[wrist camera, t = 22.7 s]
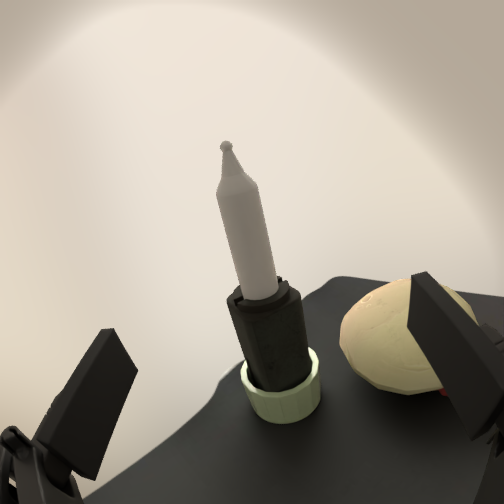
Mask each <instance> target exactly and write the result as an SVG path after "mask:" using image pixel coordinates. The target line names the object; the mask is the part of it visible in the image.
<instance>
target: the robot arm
mask: <svg viewBox="0 0 504 504" xmlns="http://www.w3.org/2000/svg"><path fill="white" fill-rule="evenodd" d="M407 328H408V330H409V331H410V333H411V334H412V336H413V338H414V339H415V341H416V342H417V344H418V345H419V347H420V349H421V350H422V352H423V354H424V355H425V357H426V358H427V360H428V362H429V363H430V365H431V367H432V368H433V370H434V372H435V374H436V375H437V377H438V379H439V381H440V382H441V384H442V386H443V388H444V389H445V391H446V393H447V395H448V397H449V398H450V400H451V402H452V404H453V406H454V408H455V410H456V412H457V414H458V415H459V417H460V419H461V421H462V423H463V425H464V427H465V429H466V431H467V433H468V436H469V438H470V440H471V441H473V440H475V439H476V438H478V437H480V436H481V435H483V434H485V433H486V432H488V431H489V430H490V428H491V427H492V426H493V424H494V423H496V425H497V427H498V428H497V429H496V430H495V432H494V433H493V434H492V436H491V437H490V438H489V439H488V442H487V444H490V443H491V441H492V440H493V439H494V440H493V444H492V448H491V452H490V456H489V459H488V463H487V466H486V470H485V473H484V476H483V479H482V482H481V485H480V487H479V490H478V493H477V495H476V498H475V500H474V503H473V504H504V338H503V337H502V335H501V334H500V333H499V332H498V331H497V330H496V329H494V328H493V327H491V326H489V325H487V324H484V325H482V326H478V325H477V324H476V322H475V321H474V320H473V319H472V318H471V317H470V316H469V315H468V314H467V312H466V311H465V310H464V309H463V308H462V307H461V306H460V305H459V304H458V303H457V302H456V301H455V300H454V299H453V298H452V297H451V295H450V294H449V293H448V292H447V291H446V290H445V289H444V288H443V287H442V286H441V285H440V284H439V283H438V282H437V281H436V280H435V279H433V278H432V277H431V276H430V274H428V273H427V272H422V273H418V274H415V275H411V289H410V301H409V311H408V320H407ZM137 372H138V369H137V368H136V366H135V364H134V363H133V361H132V360H131V358H130V356H129V355H128V353H127V351H126V350H125V348H124V346H123V344H122V343H121V341H120V339H119V337H118V335H117V334H116V332H115V330H114V328H110V329H101V331H100V332H99V334H98V335H97V337H96V338H95V340H94V341H93V343H92V344H91V346H90V347H89V349H88V350H87V352H86V353H85V355H84V356H83V358H82V359H81V361H80V363H79V364H78V366H77V367H76V369H75V370H74V372H73V374H72V375H71V377H70V379H69V380H68V382H67V384H66V385H65V387H64V389H63V390H62V391H61V392H60V393H59V394H58V395H57V396H56V397H55V399H54V401H53V402H52V404H51V408H49V409H48V411H47V415H45V416H44V418H43V420H42V422H41V423H40V425H39V427H38V429H37V431H36V433H35V435H34V437H33V438H32V440H31V441H30V440H29V439H28V438H27V437H26V436H25V435H24V434H23V433H22V432H21V431H20V430H19V429H18V428H17V427H16V426H9V427H7V428H6V429H5V430H4V431H3V432H2V434H1V436H0V504H84V503H83V500H82V498H81V495H80V492H79V489H78V486H77V483H76V480H75V478H74V476H73V475H71V472H72V470H73V471H74V472H76V473H77V474H78V475H80V476H81V477H84V478H87V479H90V480H93V481H95V480H96V477H97V474H98V472H99V469H100V466H101V463H102V460H103V458H104V455H105V452H106V449H107V446H108V444H109V441H110V439H111V436H112V433H113V431H114V428H115V426H116V423H117V421H118V418H119V415H120V413H121V410H122V408H123V406H124V403H125V401H126V398H127V396H128V393H129V391H130V389H131V386H132V384H133V381H134V379H135V377H136V375H137ZM9 477H10V478H11V479H12V480H14V481H15V482H16V487H14V486H13V485H11V484H10V483H9Z"/></svg>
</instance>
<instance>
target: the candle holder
mask: <svg viewBox="0 0 504 504" xmlns="http://www.w3.org/2000/svg"><path fill="white" fill-rule="evenodd" d="M308 349H309V357H310V364H311V373H310V374H309V376H308V377H307V379H306V380H305V381H304V382H303V383H301V384H300V385H298V386H297V387H295V388H293V389H290V390H286V391H283V392H265V391H263V390H260V389H258V388H256V387H255V386H254V383H253V381H252V378H251V375H250V372H249V369H248V366H247V363H246V360H245V362H244V364H243V366H242V369H241V378H242V383H243V385H244V388H245V390H246V393H247V395H248V398H249V400H250V403H251V405H252V407H253V408H254V411H255V412H256V413H257V414H258V416H260V417H261V418H262V419H264V420H266V421H268V422H272V423H277V424H288V423H293V422H296V421H299V420H301V419H304V418H305V417H307V416H308V415H310V414H311V413H312V412H313V411H314V410H315V408H316V407H317V406H318V404H319V401H320V398H321V379H320V368H319V360H318V358H317V356H316V354H315V352H314V351H313V350H312V349H310V348H309V347H308Z"/></svg>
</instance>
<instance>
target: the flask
mask: <svg viewBox="0 0 504 504" xmlns="http://www.w3.org/2000/svg"><path fill="white" fill-rule="evenodd" d="M440 285H441V284H440ZM441 286H442V287H443V288H444V289H445V290H446V291H447V292H448V293H449V294H450V295H451V297H452V298H453V299H454V300H455V301H456V302H457V303H458V304H459V305H460V306H461V307H462V308H463V309H464V310H465V311H466V312H467V314H468V315H469V316H470V317H471V318H472V319H473V320H474V321H475V322H476V324H477V325H478V323H477V321H476V318H475V316H474V314H473V311H472V309H471V307H470V305H469V304H468V303H467V302H466V301H465V300H464V299H463V298H461V297H460V296H459V295H458V294H457V293H456V292H455V291H453V290H452V289H450V288H448V287H447V286H444V285H441ZM410 289H411V279H402V280H396V281H393V282H391V283H389V284H386V285H384V286H382V287H380V288H378V289H375V290H374V291H372V292H370V293H369V294H367V295H366V296H365V297H363V298H362V299H361V300H360V301H359V302H357V303H356V304H355V305H354V306H353V307H352V308H351V309H350V311H349V312H348V313H347V314H346V315H345V316H344V319H343V321H342V324H341V332H340V344H339V345H340V347H341V348H342V350H343V352H344V354H345V356H346V358H347V359H348V361H349V363H350V365H351V367H352V368H353V370H354V371H355V373H357V374H358V375H359V376H361V377H362V378H364V379H365V380H366V381H368V382H369V383H371V384H372V385H373V386H375V387H376V388H378V389H381V390H386V391H390V392H395V393H400V394H405V395H412V394H417V393H423V392H428V391H432V390H439V392H440V393H441V394H442V395H443V396H448V395H447V393H446V391H445V389H444V388H443V386H442V384H441V382H440V381H439V379H438V377H437V375H436V374H435V372H434V370H433V368H432V367H431V365H430V363H429V362H428V360H427V358H426V357H425V355H424V354H423V352H422V350H421V349H420V347H419V345H418V344H417V342H416V341H415V339H414V338H413V336H412V334H411V333H410V331H409V330H408V328H407V320H408V311H409V301H410Z"/></svg>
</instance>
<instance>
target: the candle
mask: <svg viewBox="0 0 504 504" xmlns="http://www.w3.org/2000/svg"><path fill="white" fill-rule="evenodd" d="M220 149H221V150H222V152H223V160H222V177H221V181H220V183H219V186H218V189H217V192H216V196H217V200H218V204H219V208H220V212H221V216H222V220H223V224H224V227H225V231H226V235H227V238H228V242H229V246H230V250H231V253H232V257H233V261H234V264H235V269H236V272H237V276H238V280H239V283H240V285H239V286H238V287H237V288H236V289H235V290H234V292H233V293H232V294H231V295H230V296H229V297H228V298H227V305H228V308H229V311H230V315H231V318H232V321H233V324H234V327H235V330H236V333H237V336H238V339H239V342H240V345H241V348H242V351H243V354H244V357H245V360H246V363H247V366H248V369H249V372H250V375H251V378H252V381H253V383H254V386H255V387H256V388H258V389H260V390H263V391H265V392H283V391H286V390H290V389H293V388H295V387H297V386H298V385H300V384H301V383H303V382H304V381H305V380H306V379H307V377H308V376H309V374H310V373H311V364H310V357H309V349H308V342H307V335H306V328H305V321H304V314H303V307H302V301H301V295H300V293H299V291H297V290H296V289H294V288H292V287H291V286H289V283H288V281H287V280H285V281H282V277H280V276H276V271H275V267H274V261H273V256H272V252H271V247H270V242H269V237H268V233H267V228H266V223H265V219H264V214H263V209H262V205H261V200H260V196H259V192H258V187H257V184H256V183H255V182H254V181H253V180H252V178H250V177H249V176H248V175H247V174H246V173H245V172H244V170H243V169H242V167H241V165H240V163H239V162H238V160H237V158H236V156H235V155H234V153H233V151H232V143H230V142H229V141H224V142H222V144H221V146H220Z"/></svg>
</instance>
